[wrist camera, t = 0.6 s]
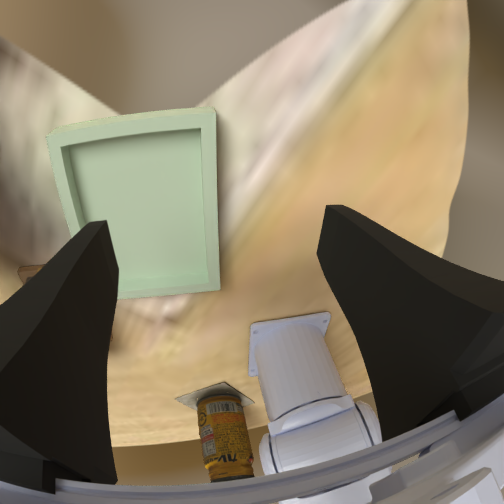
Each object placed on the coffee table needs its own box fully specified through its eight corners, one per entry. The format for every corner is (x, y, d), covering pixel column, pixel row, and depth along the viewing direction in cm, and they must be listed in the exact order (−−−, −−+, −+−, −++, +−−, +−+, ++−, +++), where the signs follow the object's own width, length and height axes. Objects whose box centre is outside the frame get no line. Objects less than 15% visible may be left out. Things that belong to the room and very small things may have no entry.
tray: (217, 273, 24) (220, 290, 23) (98, 284, 22) (94, 301, 21) (213, 106, 16) (216, 112, 15) (56, 127, 15) (45, 136, 13)
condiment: (209, 416, 41) (223, 491, 31) (174, 397, 35) (184, 486, 26) (254, 401, 40) (274, 480, 30) (223, 380, 34) (242, 475, 25)
